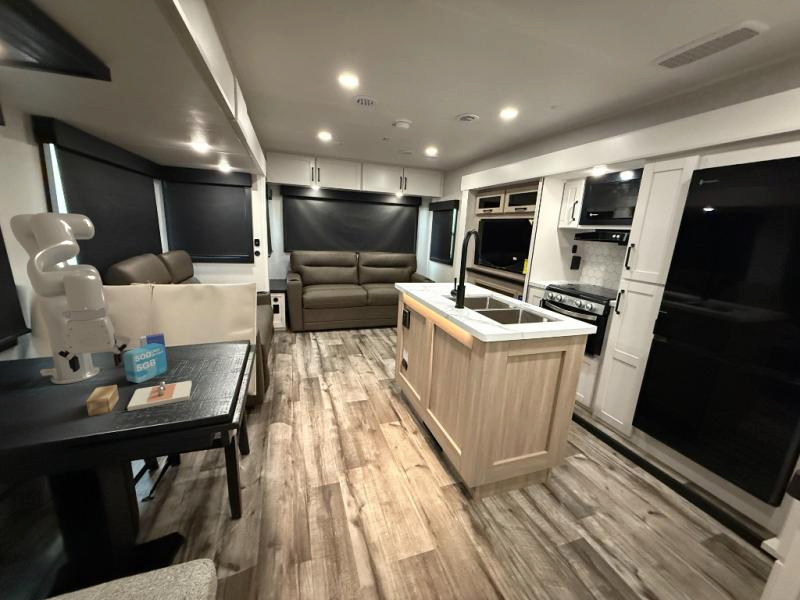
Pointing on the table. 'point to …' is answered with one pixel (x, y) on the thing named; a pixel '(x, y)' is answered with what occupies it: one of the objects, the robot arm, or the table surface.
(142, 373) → the data package
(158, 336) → the walkman
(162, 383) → the pins
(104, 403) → the tan cardboard box
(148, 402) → the plate
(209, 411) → the table surface
